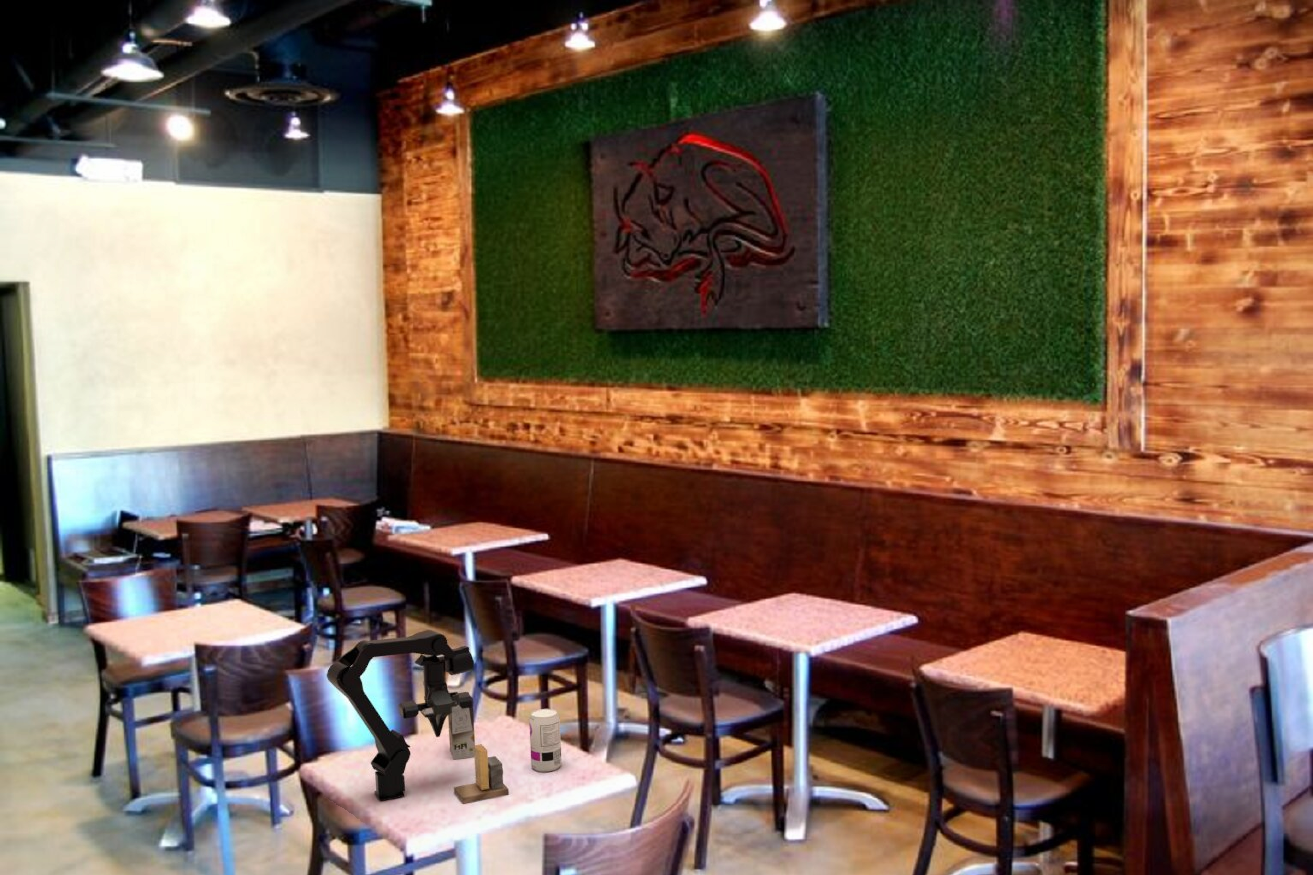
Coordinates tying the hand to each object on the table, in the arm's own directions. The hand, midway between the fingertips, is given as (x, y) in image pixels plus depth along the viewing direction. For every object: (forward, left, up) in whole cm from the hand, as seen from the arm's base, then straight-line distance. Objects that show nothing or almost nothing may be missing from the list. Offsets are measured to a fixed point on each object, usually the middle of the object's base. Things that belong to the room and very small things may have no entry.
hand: (437, 736), depth 314 cm
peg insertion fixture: (+8, -14, -12) cm, 20 cm away
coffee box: (+11, +17, -12) cm, 24 cm away
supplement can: (+28, -5, -12) cm, 31 cm away
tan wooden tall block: (+10, -14, -10) cm, 20 cm away
